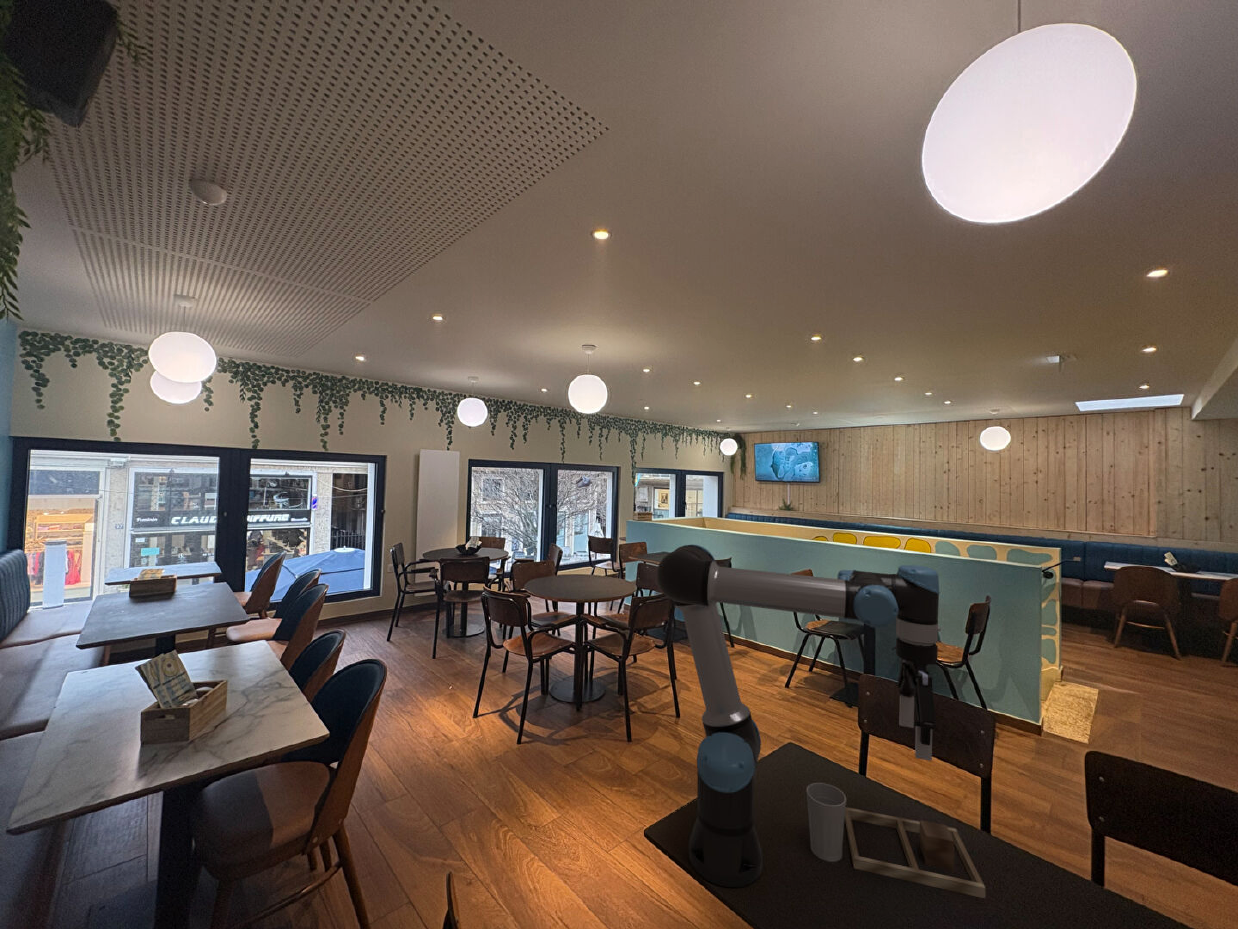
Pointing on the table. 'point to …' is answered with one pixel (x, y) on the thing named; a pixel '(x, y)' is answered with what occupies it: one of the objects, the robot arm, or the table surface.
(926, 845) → the walnut block
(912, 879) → the frame
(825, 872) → the table surface
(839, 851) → the cup
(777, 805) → the table surface
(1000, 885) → the table surface
